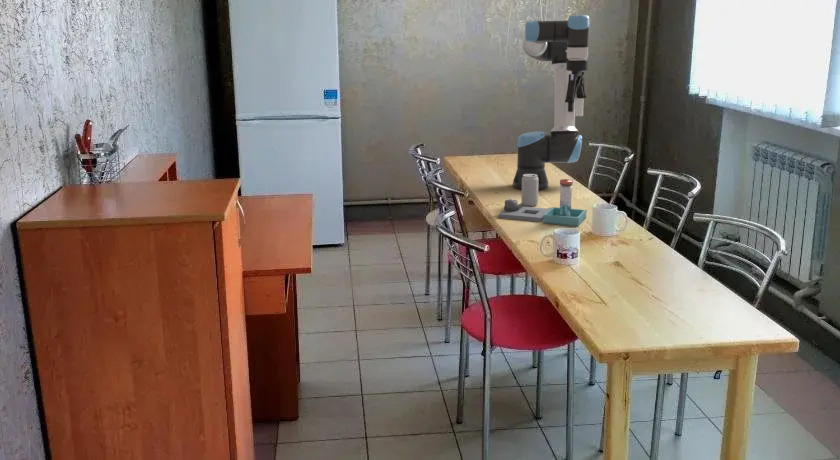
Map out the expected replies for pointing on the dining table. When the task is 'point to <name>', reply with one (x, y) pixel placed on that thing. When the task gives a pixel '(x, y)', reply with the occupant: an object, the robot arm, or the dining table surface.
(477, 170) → the dining table surface
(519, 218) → the board
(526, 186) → the beverage can
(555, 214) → the tray
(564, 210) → the bottle with red cap
